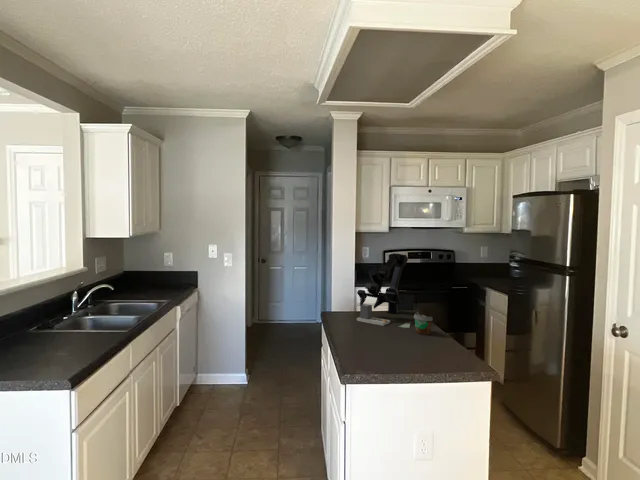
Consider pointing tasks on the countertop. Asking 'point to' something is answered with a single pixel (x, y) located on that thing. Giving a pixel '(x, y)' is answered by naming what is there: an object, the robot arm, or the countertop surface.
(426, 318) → the food container
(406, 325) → the mat
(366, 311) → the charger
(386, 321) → the power strip
